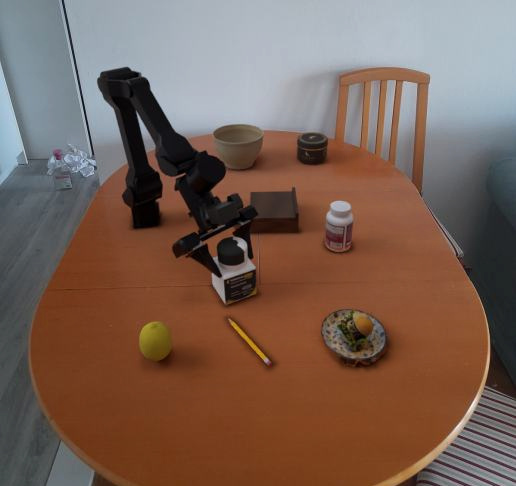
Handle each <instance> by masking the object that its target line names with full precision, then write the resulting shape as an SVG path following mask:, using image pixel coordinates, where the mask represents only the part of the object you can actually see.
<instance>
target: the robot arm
mask: <svg viewBox="0 0 516 486" xmlns="http://www.w3.org/2000/svg"><path fill="white" fill-rule="evenodd" d="M96 83H97V84H96V85H97V87H98V90H99V91H100V93H101V95H102V97H103V100H104V101H105V102H106V103H107V104H108V105H109V106H110V107H111V108H112V109H113V112H114V116H115V119H116V123H117V127H118V130H119V134H120V139H121V142H122V147H123V150H124V153H125V158H126V161H127V165H128V169H127V172H126V175H125V178H124V181H125V187H126V188H125V190H124V191H123V193H122V194H121V198H122V202H123V203H124V205H126V206H127V207H128V208H130V211H131V217H132V228H133V229H141V228H142V229H143V228H151V227H158V226H160V225H159V224H160V221H161V214H162V213H161V207H160V202H159V201H157V200H159V199H162V198H163V189H164V183H163V181H162V179H161V175H160V173H159V171H158V170H156V169H154V168H153V167H152V165H150V162H149V159H148V154H147V150H146V145H145V141H144V137H143V133H142V129H141V126H140V125H141V124H140V121H139V119H140V120H141V122H142V123H143V126H144V128H145V129H146V131H147V133H148V134H149V137H151V139H152V141H153V143H154V145H155V148H154V157H155V159H156V162H157V166H158V168H159V170H160V172H161V173H162V174H163V175H164V176H166V177H167V176H168V177H170V178H173V177H174V178H175V183H174V186H173V188H174V189H173V190H174V191H175V192H179V194H180V196H181V198H182V200H183V201H184V203H185V205H186V207H187V209H188V211H189V212H187V215H188V216H189V218H193V221H194V222H195V224H196V225H197V227H198V229H197V232H196V231H192V232H191V233H189V234H186V235H185V236H182V237H180V238H179V239H177V240H176V241H175V242H174V243H173V244H172V246H171V251H172V253H173V255H174V257H175V259H176V260H177V259H179V258H181V257H183V256H185V259H189V258H191V259H192V260H194V261H195V262H197V263H199V264H200V265H201V266H203V267H204V268H205V269H207V270H208V271H209V272H210V273H211V274H212V273H213V274H214V275H216V276H217V277H218V278H220V277H222V274H221V272H220V270H219V268H218V266H217V264H216V263H215V261H214V259H213V258H214V257H213V256H212V254H211V252H210V249H209V244H208V242H206V243H204V242H205V241H207V240H209V239H212V238H213V237H216V236H217V235H219V234H222V233H224V232H225V231H227V230H230V229H231V228H233V229H234V231H232V235H233V237H239V238H241V239H243V240H244V241H245V242H246V243H247V255H248V258H249V259H250V261H252V260H253V259H255V257H254V251H253V245H252V239H251V233H250V228H251V224H252V223H253V222H254V219H253V218H255V217H256V216H258V215H259V214H258V212H257V210H256V208H255V207H253V206H251V205H250V204H248V205H247V206H245V205H244V201H243V199H242V198H241V195H239V193H238V192H233V193H231V194H230V195H227V196H226V200H224V201H222V200H221V199H220V197H219V196H218V195H215V196H214V194H213V193H212V190H213V189H214V188H215V187H216V186H217V185H218V184H220V183H221V181H223V180H224V178H225V177H226V174H227V167H226V166H225V164H224V161H223V160H222V159H221V158H220V157H217V156H215V155H214V154H213V155H212V154H209V153H208V151H207V150H201V151H198V150H197V149H196V148H194V147H193V146H192V144H191V143H190V141H189V140H188V138H186V136H184V135H182V134H180V133H178V132H177V131H176V130H175V129H174V127H173V126H172V123H171V122H170V121H169V119H168V117H167V114H165V112H164V110H163V108H162V106H161V105H160V104H159V102H158V100H157V97H156V96H155V95H154V93H153V91H152V89H151V84H150V81H149V79H148V78H147V77H145V76H142V72H141V71H136V70H132V68H130V67H129V66H123V67H118V68H113V69H108V70H102V71H101V72H100V73H99V77H97V79H96ZM252 219H253V220H252Z"/></svg>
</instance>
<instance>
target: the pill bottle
mask: <svg viewBox="0 0 516 486" xmlns="http://www.w3.org/2000/svg"><path fill="white" fill-rule="evenodd" d="M325 216H326V217H325V218H326V219H325V235H324V236H325V237H324V244H325V246H326V248H327V249H329V250H330V251H332V252H335V253H342V252H346V251H348V250H349V249H350V248H351V246H352V241H353V240H352V239H353V227H354V226H353V225H354V215H353V213H352V205H351V204H350V203H349V202H347V201H346V200H345V201H344V200H335V201H333V202H331V203H330V205H329V211H328V212H327V213H326V215H325Z"/></svg>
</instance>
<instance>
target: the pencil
mask: <svg viewBox="0 0 516 486" xmlns="http://www.w3.org/2000/svg"><path fill="white" fill-rule="evenodd" d="M227 319H228V321H229V324H230V326H232V327H233V328H234V330H235V331H236V332H237V333H238V334H239V335H240V336H241V337H242V339H244V340H245V342H246V343H247V344H248V345H249V346H250V347H251V348H252V350H253V351H254V352H255V353H256V354H257V356H259V357H260V358H261V359H262V361H264V363H265V364H266V365H267V366H268V367H270V366H272V364H273V362H271V360H270V359H269V358H268V357H267V356H266V355H265V354H264V353H263V351H261V349H260V348H259V347H258V346H257V345H256V344H255V343H254V342H253V341H252V340H251V338H249V336H247V334H246V333H245V332H244V331H243V330H242V329H241V328H240V326H239V325H237V323H236V322H235V321H233V320H232V319H230V318H227Z"/></svg>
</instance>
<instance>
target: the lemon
mask: <svg viewBox="0 0 516 486" xmlns="http://www.w3.org/2000/svg"><path fill="white" fill-rule="evenodd" d="M138 344H139V349H140V351H141V353H142V355H143V357H145V358H146V359H147V360H150V361H154V362H157V361H161V360H163V359H165V358H166V357H167V356H168V355H169V354H170V352H171V350H172V348H173V336H172V333H171V331H170V329H169V327H168V326H167V325H166V324H165V323H163V322H162V321H151V322H148V323H147V324H146V325H144V326H143V328H142V329H141V331H140V334H139V340H138Z"/></svg>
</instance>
